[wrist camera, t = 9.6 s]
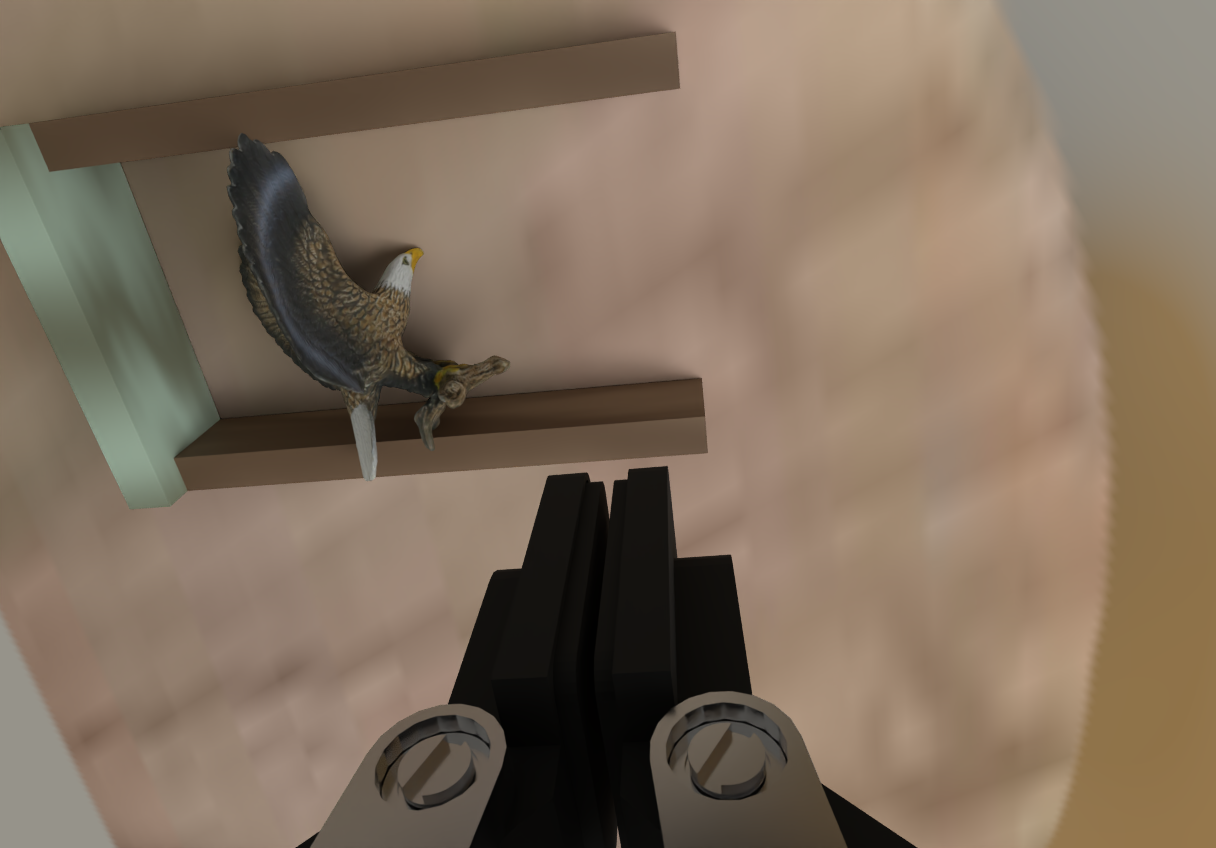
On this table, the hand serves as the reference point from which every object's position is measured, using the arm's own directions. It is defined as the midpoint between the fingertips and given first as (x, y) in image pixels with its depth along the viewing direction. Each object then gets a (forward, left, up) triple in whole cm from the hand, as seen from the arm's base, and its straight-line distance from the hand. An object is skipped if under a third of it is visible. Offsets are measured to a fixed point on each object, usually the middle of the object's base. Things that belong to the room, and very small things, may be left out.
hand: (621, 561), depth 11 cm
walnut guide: (+1, +8, -16) cm, 17 cm away
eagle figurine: (0, +9, -16) cm, 18 cm away
